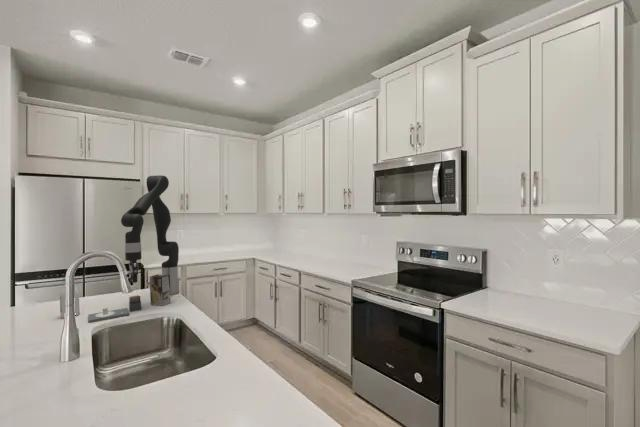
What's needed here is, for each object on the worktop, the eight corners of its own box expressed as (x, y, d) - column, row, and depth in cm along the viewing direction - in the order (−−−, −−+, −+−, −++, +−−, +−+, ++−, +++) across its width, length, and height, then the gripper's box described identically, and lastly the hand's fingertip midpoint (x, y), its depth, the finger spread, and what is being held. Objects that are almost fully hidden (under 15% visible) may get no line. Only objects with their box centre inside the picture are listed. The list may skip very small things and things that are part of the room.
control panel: (127, 310, 172) (127, 301, 171) (129, 315, 163) (129, 306, 163) (88, 316, 162) (88, 308, 161) (88, 323, 153) (88, 314, 153)
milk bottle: (83, 313, 167) (82, 275, 167) (70, 318, 159) (69, 278, 159) (70, 313, 168) (68, 275, 167) (56, 318, 160) (55, 278, 160)
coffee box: (171, 302, 184) (170, 274, 183) (163, 305, 178) (162, 277, 177) (158, 301, 186) (157, 274, 186) (149, 304, 180) (148, 276, 180)
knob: (140, 307, 176) (139, 294, 175) (141, 309, 171) (140, 296, 171) (129, 309, 173) (128, 295, 172) (130, 311, 168) (129, 297, 168)
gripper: (143, 251, 168) (143, 282, 168) (139, 249, 179) (140, 277, 180) (126, 253, 163) (127, 284, 164) (123, 250, 175) (124, 279, 175)
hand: (134, 280), depth 172 cm, fingers open, 8 cm apart
